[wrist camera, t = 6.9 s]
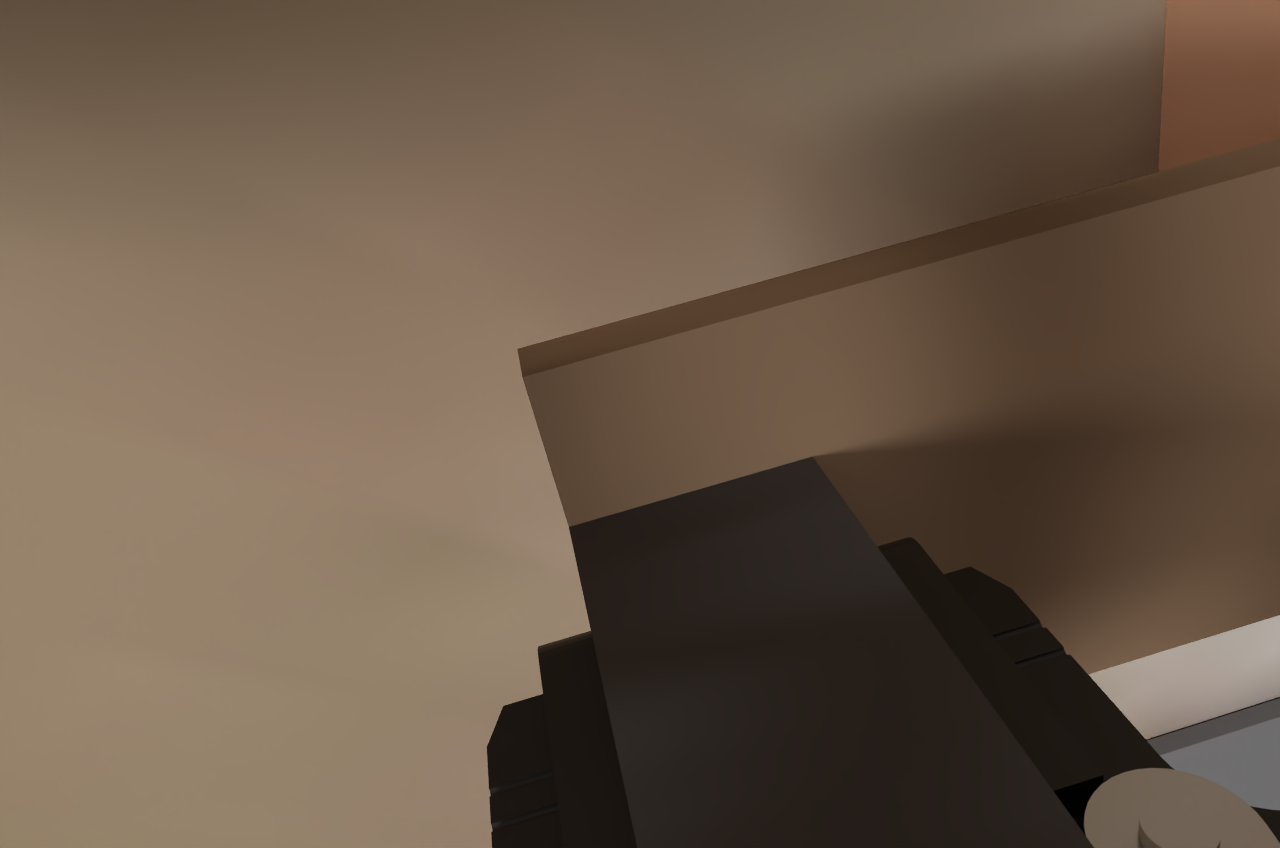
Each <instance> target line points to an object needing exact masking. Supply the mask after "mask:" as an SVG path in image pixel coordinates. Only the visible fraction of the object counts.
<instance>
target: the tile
mask: <svg viewBox="0 0 1280 848" xmlns="http://www.w3.org/2000/svg"><path fill="white" fill-rule="evenodd" d="M1279 138H1280V0H1167V11H1166V30H1165V49H1164V68H1163V87H1162V107H1161V126H1160V145H1159V164H1158V172H1159V171H1163V170H1167V169H1170V168H1174V167H1177V166H1181V165H1185V164H1188V163H1192V162H1195V161H1199V160H1203V159H1206V158H1210V157H1214V156H1217V155H1221V154H1224V153H1228V152H1232V151H1235V150H1239V149H1243V148H1246V147H1250V146H1253V145H1257V144H1261V143H1264V142H1268V141H1271V140H1275V139H1279Z"/></svg>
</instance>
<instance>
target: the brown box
mask: <svg viewBox="0 0 1280 848" xmlns="http://www.w3.org/2000/svg"><path fill="white" fill-rule="evenodd" d="M518 354H519V360H520V366H521V371H522V377H523V380H524V383H525V387H526V390H527V393H528V396H529V399H530V403H531V406H532V409H533V412H534V416H535V419H536V422H537V425H538V429H539V432H540V435H541V438H542V441H543V445H544V448H545V451H546V454H547V458H548V461H549V464H550V467H551V470H552V474H553V477H554V480H555V483H556V487H557V490H558V493H559V496H560V500H561V503H562V506H563V509H564V512H565V516H566V519H567V522H568V525H569V529H570V534H571V539H572V543H573V548H574V553H575V557H576V562H577V567H578V572H579V576H580V581H581V586H582V590H583V595H584V600H585V604H586V609H587V614H588V618H589V623H590V628H591V632H592V637H593V642H594V647H595V651H596V656H597V661H598V665H599V670H600V675H601V679H602V684H603V689H604V693H605V698H606V703H607V707H608V712H609V717H610V721H611V726H612V731H613V736H614V740H615V745H616V750H617V754H618V759H619V764H620V768H621V773H622V778H623V782H624V787H625V792H626V796H627V801H628V806H629V811H630V815H631V820H632V825H633V829H634V834H635V839H636V843H637V848H1094V847H1093V845H1092V844H1091V843H1090V841H1089V840H1088V838H1087V837H1086V836H1085V834H1084V833H1083V832H1082V830H1081V829H1080V827H1079V826H1078V825H1077V823H1076V822H1075V820H1074V819H1073V818H1072V816H1071V815H1070V814H1069V812H1068V811H1067V809H1066V808H1065V807H1064V805H1063V804H1062V802H1061V801H1060V800H1059V798H1058V797H1057V795H1056V794H1055V793H1054V791H1053V790H1052V789H1051V787H1050V786H1049V784H1048V783H1047V782H1046V780H1045V779H1044V777H1043V776H1042V775H1041V773H1040V772H1039V770H1038V769H1037V768H1036V766H1035V765H1034V764H1033V762H1032V761H1031V759H1030V758H1029V757H1028V755H1027V754H1026V752H1025V751H1024V750H1023V748H1022V747H1021V745H1020V744H1019V743H1018V741H1017V740H1016V739H1015V737H1014V736H1013V734H1012V733H1011V732H1010V730H1009V729H1008V727H1007V726H1006V725H1005V723H1004V722H1003V721H1002V719H1001V718H1000V716H999V715H998V714H997V712H996V711H995V709H994V708H993V707H992V705H991V704H990V702H989V701H988V700H987V698H986V697H985V696H984V694H983V693H982V691H981V690H980V689H979V687H978V686H977V684H976V683H975V682H974V680H973V679H972V677H971V676H970V675H969V673H968V672H967V671H966V669H965V668H964V666H963V665H962V664H961V662H960V661H959V659H958V658H957V657H956V655H955V654H954V653H953V651H952V650H951V648H950V647H949V646H948V644H947V643H946V641H945V640H944V639H943V637H942V636H941V634H940V633H939V632H938V630H937V629H936V628H935V626H934V625H933V623H932V622H931V621H930V619H929V618H928V616H927V615H926V614H925V612H924V611H923V609H922V608H921V607H920V605H919V604H918V603H917V601H916V600H915V598H914V597H913V596H912V594H911V593H910V591H909V590H908V589H907V587H906V586H905V585H904V583H903V582H902V580H901V579H900V578H899V576H898V575H897V573H896V572H895V571H894V569H893V568H892V566H891V565H890V564H889V562H888V561H887V560H886V558H885V557H884V555H883V554H882V553H881V551H880V550H879V548H878V547H877V546H880V545H884V544H887V543H890V542H894V541H897V540H900V539H904V538H907V537H911V538H914V539H915V540H916V541H917V542H918V543H919V544H920V545H921V546H922V548H923V549H924V550H925V551H926V553H927V554H928V555H929V556H930V558H931V559H932V560H933V561H934V563H935V564H936V565H937V567H938V568H939V569H940V570H941V572H942V573H943V574H947V573H950V572H953V571H957V570H960V569H963V568H967V567H970V566H971V567H973V568H974V569H976V570H978V571H980V572H982V573H984V574H986V575H987V576H989V577H991V578H993V579H995V580H997V581H999V582H1001V583H1002V584H1004V585H1006V586H1008V587H1010V588H1012V589H1013V590H1014V591H1015V593H1016V594H1017V595H1018V596H1019V597H1020V598H1021V599H1022V601H1023V602H1024V603H1025V604H1026V605H1027V606H1028V607H1029V608H1030V610H1031V611H1032V612H1033V613H1034V614H1035V615H1036V616H1037V617H1038V619H1039V620H1040V622H1041V625H1042V627H1043V628H1044V627H1046V628H1047V629H1048V630H1049V631H1050V632H1051V633H1052V634H1053V635H1054V637H1055V638H1056V639H1057V640H1058V641H1059V642H1060V643H1061V645H1062V646H1063V647H1064V650H1065V652H1066V654H1067V655H1069V654H1070V655H1071V656H1072V657H1073V658H1074V659H1075V660H1076V661H1077V663H1078V664H1079V665H1080V666H1081V667H1082V668H1083V669H1084V670H1085V672H1086V673H1087V674H1091V673H1094V672H1097V671H1100V670H1103V669H1107V668H1110V667H1113V666H1116V665H1120V664H1123V663H1126V662H1129V661H1132V660H1136V659H1139V658H1142V657H1145V656H1149V655H1152V654H1155V653H1158V652H1161V651H1165V650H1168V649H1171V648H1174V647H1178V646H1181V645H1184V644H1187V643H1191V642H1194V641H1197V640H1200V639H1203V638H1207V637H1210V636H1213V635H1216V634H1220V633H1223V632H1226V631H1229V630H1232V629H1236V628H1239V627H1242V626H1245V625H1249V624H1252V623H1255V622H1258V621H1261V620H1265V619H1268V618H1271V617H1274V616H1278V615H1280V138H1279V139H1275V140H1271V141H1268V142H1264V143H1261V144H1257V145H1253V146H1250V147H1246V148H1243V149H1239V150H1235V151H1232V152H1228V153H1224V154H1221V155H1217V156H1214V157H1210V158H1206V159H1203V160H1199V161H1195V162H1192V163H1188V164H1185V165H1181V166H1177V167H1174V168H1170V169H1167V170H1163V171H1159V172H1156V173H1152V174H1148V175H1145V176H1141V177H1138V178H1134V179H1130V180H1127V181H1123V182H1120V183H1116V184H1112V185H1109V186H1105V187H1101V188H1098V189H1094V190H1091V191H1087V192H1083V193H1080V194H1076V195H1073V196H1069V197H1065V198H1062V199H1058V200H1054V201H1051V202H1047V203H1044V204H1040V205H1036V206H1033V207H1029V208H1026V209H1022V210H1018V211H1015V212H1011V213H1007V214H1004V215H1000V216H997V217H993V218H989V219H986V220H982V221H979V222H975V223H971V224H968V225H964V226H960V227H957V228H953V229H950V230H946V231H942V232H939V233H935V234H932V235H928V236H924V237H921V238H917V239H913V240H910V241H906V242H903V243H899V244H895V245H892V246H888V247H885V248H881V249H877V250H874V251H870V252H866V253H863V254H859V255H856V256H852V257H848V258H845V259H841V260H838V261H834V262H830V263H827V264H823V265H819V266H816V267H812V268H809V269H805V270H801V271H798V272H794V273H790V274H787V275H783V276H780V277H776V278H772V279H769V280H765V281H762V282H758V283H754V284H751V285H747V286H743V287H740V288H736V289H733V290H729V291H725V292H722V293H718V294H715V295H711V296H707V297H704V298H700V299H696V300H693V301H689V302H686V303H682V304H678V305H675V306H671V307H668V308H664V309H660V310H657V311H653V312H649V313H646V314H642V315H639V316H635V317H631V318H628V319H624V320H621V321H617V322H613V323H610V324H606V325H602V326H599V327H595V328H592V329H588V330H584V331H581V332H577V333H574V334H570V335H566V336H563V337H559V338H555V339H552V340H548V341H545V342H541V343H537V344H534V345H530V346H527V347H523V348H519V349H518Z"/></svg>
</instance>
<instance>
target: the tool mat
mask: <svg viewBox="0 0 1280 848" xmlns="http://www.w3.org/2000/svg"><path fill="white" fill-rule="evenodd" d="M1147 742H1148V743H1149V744H1150V745H1151V746H1152V747H1153V748H1154V749H1155V751H1156V752H1157V753H1158V754H1159V755H1160V756H1161V757H1162V758H1163V759H1164V760H1165V761H1166V762H1167V763H1168V764H1169V765H1170V766H1171V767H1172V768H1173V769H1174V770H1178V771H1184V772H1187V773H1191V774H1194V775H1198V776H1201V777H1203V778H1206V779H1208V780H1210V781H1213V782H1215V783H1217V784H1219V785H1221V786H1223V787H1224V788H1226V789H1228V790H1230V791H1231V792H1233V793H1234V794H1235V795H1237V796H1238V797H1240V798H1241V799H1242V800H1244V801H1245V802H1246V803H1247V804H1248V805H1249V806H1252V807H1258V808H1264V809H1271V810H1280V698H1278V699H1275V700H1272V701H1269V702H1266V703H1263V704H1260V705H1257V706H1253V707H1250V708H1247V709H1244V710H1241V711H1238V712H1235V713H1232V714H1228V715H1225V716H1222V717H1219V718H1216V719H1213V720H1210V721H1207V722H1203V723H1200V724H1197V725H1194V726H1191V727H1188V728H1185V729H1182V730H1178V731H1175V732H1172V733H1169V734H1166V735H1163V736H1160V737H1157V738H1154V739H1150V740H1147Z"/></svg>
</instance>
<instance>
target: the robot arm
mask: <svg viewBox="0 0 1280 848" xmlns="http://www.w3.org/2000/svg"><path fill="white" fill-rule="evenodd" d="M877 547H878V548H879V550H880V551H881V553H882V554H883V555H884V557H885V558H886V560H887V561H888V562H889V564H890V565H891V566H892V568H893V569H894V571H895V572H896V573H897V575H898V576H899V578H900V579H901V580H902V582H903V583H904V585H905V586H906V587H907V589H908V590H909V591H910V593H911V594H912V596H913V597H914V598H915V600H916V601H917V603H918V604H919V605H920V607H921V608H922V609H923V611H924V612H925V614H926V615H927V616H928V618H929V619H930V621H931V622H932V623H933V625H934V626H935V628H936V629H937V630H938V632H939V633H940V634H941V636H942V637H943V639H944V640H945V641H946V643H947V644H948V646H949V647H950V648H951V650H952V651H953V653H954V654H955V655H956V657H957V658H958V659H959V661H960V662H961V664H962V665H963V666H964V668H965V669H966V671H967V672H968V673H969V675H970V676H971V677H972V679H973V680H974V682H975V683H976V684H977V686H978V687H979V689H980V690H981V691H982V693H983V694H984V696H985V697H986V698H987V700H988V701H989V702H990V704H991V705H992V707H993V708H994V709H995V711H996V712H997V714H998V715H999V716H1000V718H1001V719H1002V721H1003V722H1004V723H1005V725H1006V726H1007V727H1008V729H1009V730H1010V732H1011V733H1012V734H1013V736H1014V737H1015V739H1016V740H1017V741H1018V743H1019V744H1020V745H1021V747H1022V748H1023V750H1024V751H1025V752H1026V754H1027V755H1028V757H1029V758H1030V759H1031V761H1032V762H1033V764H1034V765H1035V766H1036V768H1037V769H1038V770H1039V772H1040V773H1041V775H1042V776H1043V777H1044V779H1045V780H1046V782H1047V783H1048V784H1049V786H1050V787H1051V789H1052V790H1053V791H1054V793H1055V794H1056V795H1057V797H1058V798H1059V800H1060V801H1061V802H1062V804H1063V805H1064V807H1065V808H1066V809H1067V811H1068V812H1069V814H1070V815H1071V816H1072V818H1073V819H1074V820H1075V822H1076V823H1077V825H1078V826H1079V827H1080V829H1081V830H1082V832H1083V833H1084V834H1085V836H1086V837H1087V838H1088V840H1089V841H1090V843H1091V844H1092V845H1093V847H1094V848H1280V810H1271V809H1264V808H1258V807H1252V806H1249V805H1248V804H1247V803H1246V802H1245V801H1244V800H1242V799H1241V798H1240V797H1238V796H1237V795H1235V794H1234V793H1233V792H1231V791H1230V790H1228V789H1226V788H1224V787H1223V786H1221V785H1219V784H1217V783H1215V782H1213V781H1210V780H1208V779H1206V778H1203V777H1201V776H1198V775H1194V774H1191V773H1187V772H1184V771H1178V770H1174V769H1173V768H1172V767H1171V766H1170V765H1169V764H1168V763H1167V762H1166V761H1165V760H1164V759H1163V758H1162V757H1161V756H1160V755H1159V754H1158V753H1157V752H1156V751H1155V749H1154V748H1153V747H1152V746H1151V745H1150V744H1149V743H1148V742H1147V740H1146V739H1145V738H1144V737H1143V736H1142V735H1141V734H1140V733H1139V731H1138V730H1137V729H1136V728H1135V727H1134V726H1133V725H1132V724H1131V722H1130V721H1129V720H1128V719H1127V718H1126V717H1125V716H1124V715H1123V713H1122V712H1121V711H1120V710H1119V709H1118V708H1117V707H1116V705H1115V704H1114V703H1113V702H1112V701H1111V700H1110V699H1109V698H1108V696H1107V695H1106V694H1105V693H1104V692H1103V691H1102V690H1101V689H1100V687H1099V686H1098V685H1097V684H1096V683H1095V682H1094V681H1093V680H1092V678H1091V677H1090V676H1089V675H1088V674H1087V673H1086V672H1085V670H1084V669H1083V668H1082V667H1081V666H1080V665H1079V664H1078V663H1077V661H1076V660H1075V659H1074V658H1073V657H1072V656H1071V655H1070V654H1069V655H1067V654H1066V652H1065V650H1064V647H1063V646H1062V645H1061V643H1060V642H1059V641H1058V640H1057V639H1056V638H1055V637H1054V635H1053V634H1052V633H1051V632H1050V631H1049V630H1048V629H1047V628H1046V627H1044V628H1043V627H1042V625H1041V622H1040V620H1039V619H1038V617H1037V616H1036V615H1035V614H1034V613H1033V612H1032V611H1031V610H1030V608H1029V607H1028V606H1027V605H1026V604H1025V603H1024V602H1023V601H1022V599H1021V598H1020V597H1019V596H1018V595H1017V594H1016V593H1015V591H1014V590H1013V589H1012V588H1010V587H1008V586H1006V585H1004V584H1002V583H1001V582H999V581H997V580H995V579H993V578H991V577H989V576H987V575H986V574H984V573H982V572H980V571H978V570H976V569H974V568H973V567H971V566H970V567H967V568H963V569H960V570H957V571H953V572H950V573H947V574H943V573H942V572H941V570H940V569H939V568H938V567H937V565H936V564H935V563H934V561H933V560H932V559H931V558H930V556H929V555H928V554H927V553H926V551H925V550H924V549H923V548H922V546H921V545H920V544H919V543H918V542H917V541H916V540H915V539H914V538H911V537H907V538H904V539H900V540H897V541H894V542H890V543H887V544H884V545H880V546H877ZM538 658H539V665H540V673H541V680H542V688H543V694H542V695H538V696H535V697H532V698H528V699H525V700H522V701H518V702H515V703H512V704H508V705H505V706H503V708H502V711H501V713H500V716H499V718H498V721H497V723H496V726H495V728H494V731H493V733H492V736H491V738H490V741H489V743H488V746H487V757H488V776H489V789H490V793H491V796H490V814H491V824H492V829H493V832H491V833H492V848H637V843H636V839H635V834H634V829H633V825H632V820H631V815H630V811H629V806H628V801H627V796H626V792H625V787H624V782H623V778H622V773H621V768H620V764H619V759H618V754H617V750H616V745H615V740H614V736H613V731H612V726H611V721H610V717H609V712H608V707H607V703H606V698H605V693H604V689H603V684H602V679H601V675H600V670H599V665H598V661H597V656H596V651H595V647H594V642H593V637H592V632H591V631H589V632H585V633H582V634H579V635H575V636H572V637H569V638H565V639H562V640H559V641H555V642H552V643H548V644H545V645H542V646H539V647H538Z"/></svg>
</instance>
